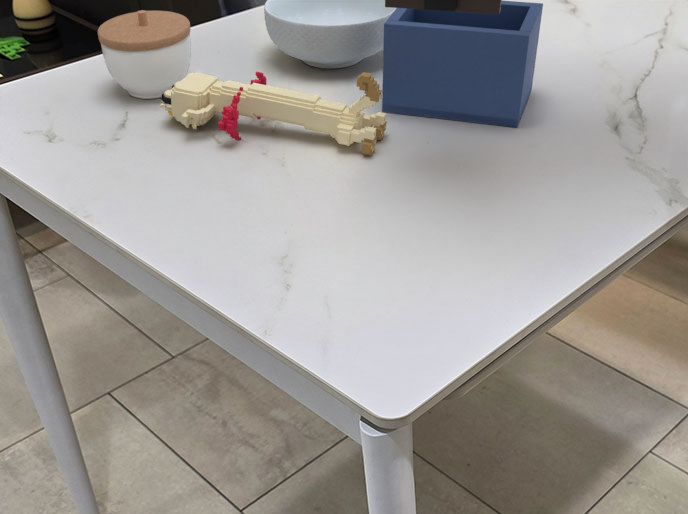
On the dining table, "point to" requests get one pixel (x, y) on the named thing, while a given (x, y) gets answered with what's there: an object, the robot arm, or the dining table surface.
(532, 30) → the blue box
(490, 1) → the dark brown block
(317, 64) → the cereal bowl
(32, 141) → the dining table surface
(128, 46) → the trinket box
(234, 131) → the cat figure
